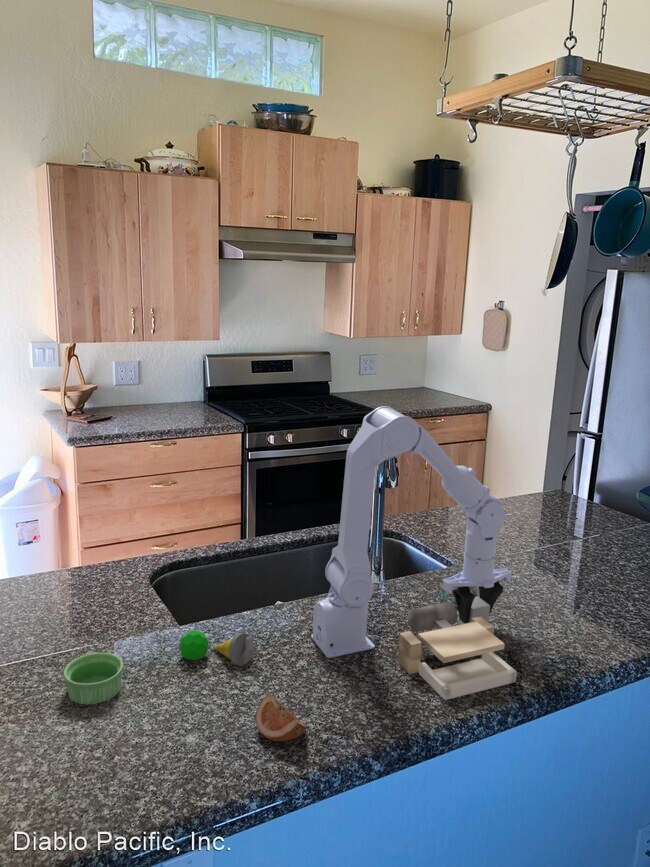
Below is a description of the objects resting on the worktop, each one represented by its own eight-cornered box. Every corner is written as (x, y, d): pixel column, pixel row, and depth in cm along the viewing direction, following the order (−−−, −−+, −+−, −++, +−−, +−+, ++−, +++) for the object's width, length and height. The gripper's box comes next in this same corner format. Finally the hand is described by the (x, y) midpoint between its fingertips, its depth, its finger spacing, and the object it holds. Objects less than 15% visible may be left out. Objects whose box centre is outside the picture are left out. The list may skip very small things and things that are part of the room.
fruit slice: (315, 744, 99) (316, 714, 98) (275, 762, 95) (276, 731, 94) (285, 713, 106) (286, 685, 105) (247, 729, 102) (247, 699, 101)
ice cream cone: (249, 629, 116) (207, 628, 122) (242, 662, 114) (199, 659, 119) (269, 639, 120) (227, 637, 125) (262, 670, 117) (219, 667, 123)
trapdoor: (397, 627, 125) (398, 607, 124) (453, 616, 129) (454, 596, 128) (443, 671, 111) (444, 649, 110) (503, 657, 116) (505, 635, 115)
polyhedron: (177, 653, 121) (176, 628, 120) (204, 647, 123) (204, 623, 122) (183, 668, 117) (182, 643, 116) (211, 662, 119) (211, 637, 118)
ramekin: (103, 669, 116) (102, 646, 115) (135, 690, 111) (134, 666, 110) (54, 693, 109) (52, 668, 108) (85, 717, 104) (84, 691, 103)
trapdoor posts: (397, 664, 120) (399, 633, 119) (478, 645, 127) (480, 616, 125) (409, 676, 116) (411, 644, 115) (491, 657, 123) (494, 626, 122)
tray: (444, 703, 109) (445, 689, 109) (418, 676, 117) (419, 663, 116) (515, 684, 115) (516, 671, 114) (486, 660, 122) (487, 647, 122)
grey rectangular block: (470, 632, 131) (472, 608, 130) (458, 622, 135) (460, 599, 134) (487, 629, 133) (490, 605, 132) (475, 619, 136) (477, 596, 135)
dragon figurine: (446, 613, 147) (481, 613, 142) (430, 608, 142) (465, 608, 137) (447, 582, 149) (481, 582, 145) (431, 576, 144) (466, 575, 139)
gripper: (459, 568, 124) (454, 636, 127) (524, 557, 130) (517, 622, 133) (438, 553, 130) (433, 618, 133) (500, 543, 136) (494, 606, 139)
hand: (473, 619), depth 134 cm, fingers closed on grey rectangular block, 4 cm apart
